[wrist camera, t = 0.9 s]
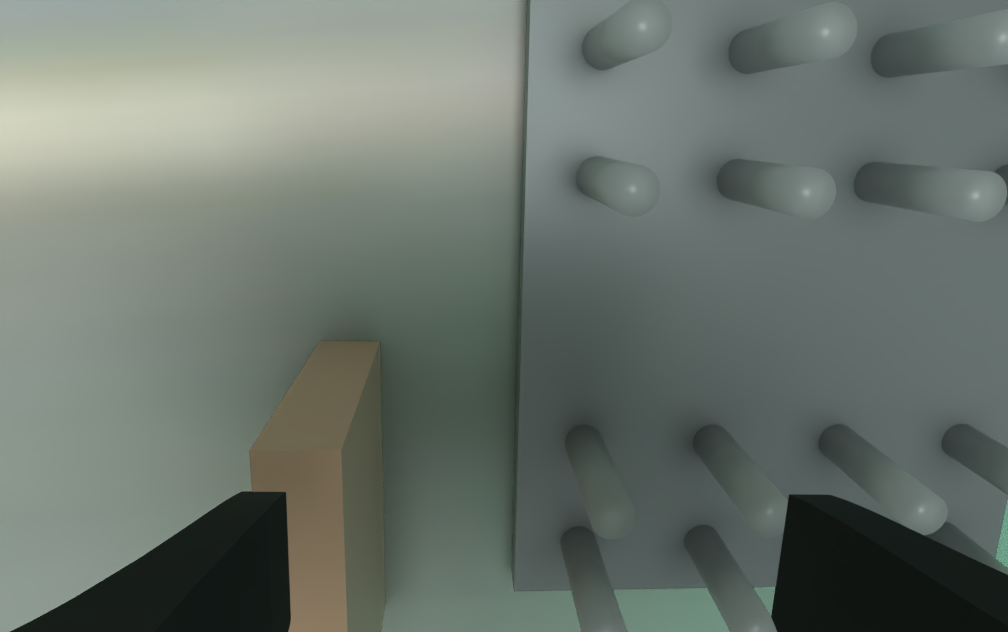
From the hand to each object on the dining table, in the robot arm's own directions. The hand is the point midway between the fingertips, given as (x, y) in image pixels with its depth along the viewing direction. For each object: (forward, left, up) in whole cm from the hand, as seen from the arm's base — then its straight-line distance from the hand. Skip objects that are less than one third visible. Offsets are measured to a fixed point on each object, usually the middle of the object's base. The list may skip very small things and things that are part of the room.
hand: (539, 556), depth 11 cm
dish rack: (+1, -7, -10) cm, 12 cm away
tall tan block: (-4, +4, -10) cm, 11 cm away
